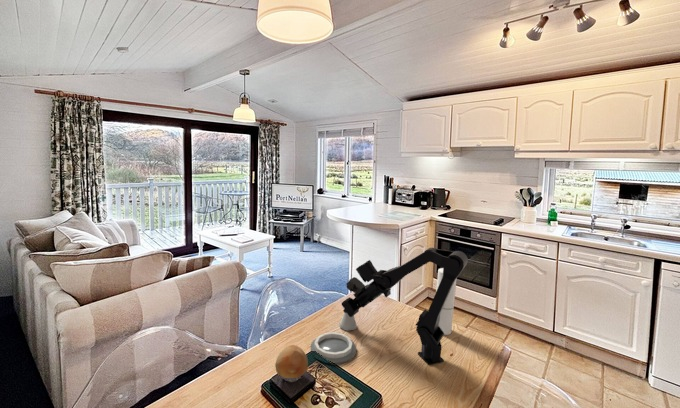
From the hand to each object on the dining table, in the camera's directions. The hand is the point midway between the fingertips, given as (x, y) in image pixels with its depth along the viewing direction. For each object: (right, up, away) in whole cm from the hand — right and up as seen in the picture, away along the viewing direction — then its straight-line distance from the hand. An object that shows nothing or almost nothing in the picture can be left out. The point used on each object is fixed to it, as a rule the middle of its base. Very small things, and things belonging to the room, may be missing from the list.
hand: (346, 310), depth 125 cm
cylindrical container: (+39, -9, +1) cm, 40 cm away
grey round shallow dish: (-5, -9, -16) cm, 19 cm away
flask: (+1, -7, 0) cm, 7 cm away
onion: (-17, -10, -31) cm, 37 cm away
